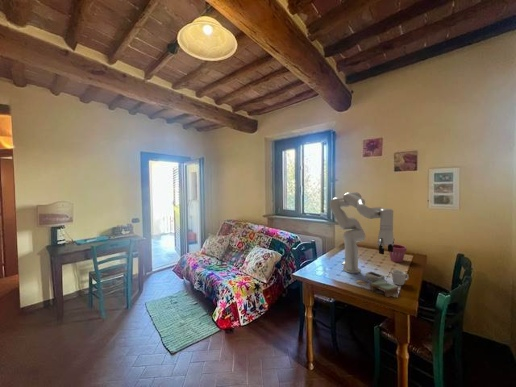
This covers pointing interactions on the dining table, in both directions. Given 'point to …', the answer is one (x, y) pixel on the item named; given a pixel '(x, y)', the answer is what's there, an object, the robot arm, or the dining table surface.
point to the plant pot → (397, 253)
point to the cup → (399, 277)
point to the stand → (384, 287)
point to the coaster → (361, 282)
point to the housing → (374, 277)
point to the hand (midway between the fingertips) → (385, 252)
